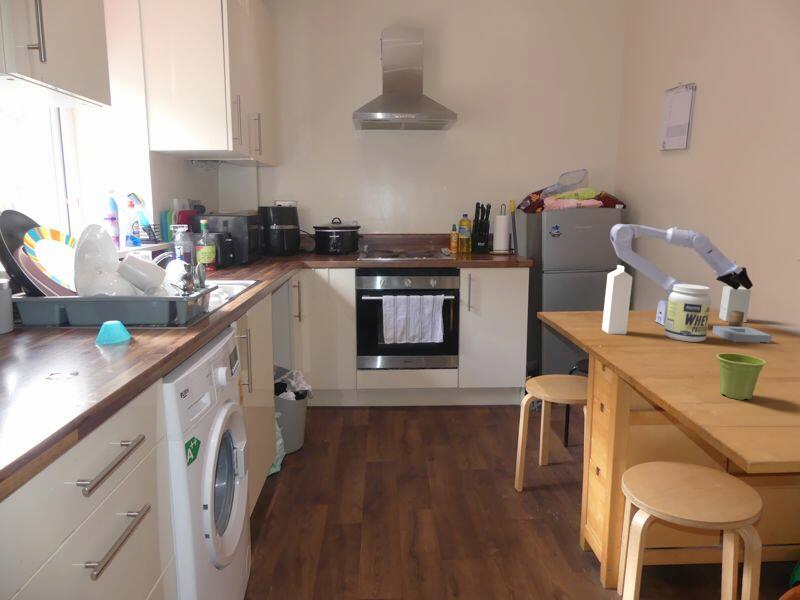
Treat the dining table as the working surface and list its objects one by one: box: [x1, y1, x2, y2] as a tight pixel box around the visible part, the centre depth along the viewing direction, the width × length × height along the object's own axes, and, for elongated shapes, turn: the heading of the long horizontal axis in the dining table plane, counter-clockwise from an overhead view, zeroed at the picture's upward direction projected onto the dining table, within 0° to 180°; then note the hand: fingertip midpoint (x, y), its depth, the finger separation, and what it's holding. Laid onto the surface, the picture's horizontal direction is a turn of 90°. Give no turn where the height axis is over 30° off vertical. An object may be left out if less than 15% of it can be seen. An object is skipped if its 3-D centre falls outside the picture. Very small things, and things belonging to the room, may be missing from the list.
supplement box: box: [718, 285, 752, 323], centre depth 214 cm, size 7×7×13 cm
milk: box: [601, 264, 633, 335], centre depth 185 cm, size 6×6×22 cm
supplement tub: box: [663, 283, 712, 343], centre depth 181 cm, size 12×12×17 cm
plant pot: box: [716, 352, 767, 401], centre depth 126 cm, size 9×9×9 cm
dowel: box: [728, 310, 744, 327], centre depth 195 cm, size 4×4×7 cm
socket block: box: [712, 325, 773, 344], centre depth 185 cm, size 12×12×2 cm
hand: (744, 287), depth 196 cm, fingers open, 7 cm apart
